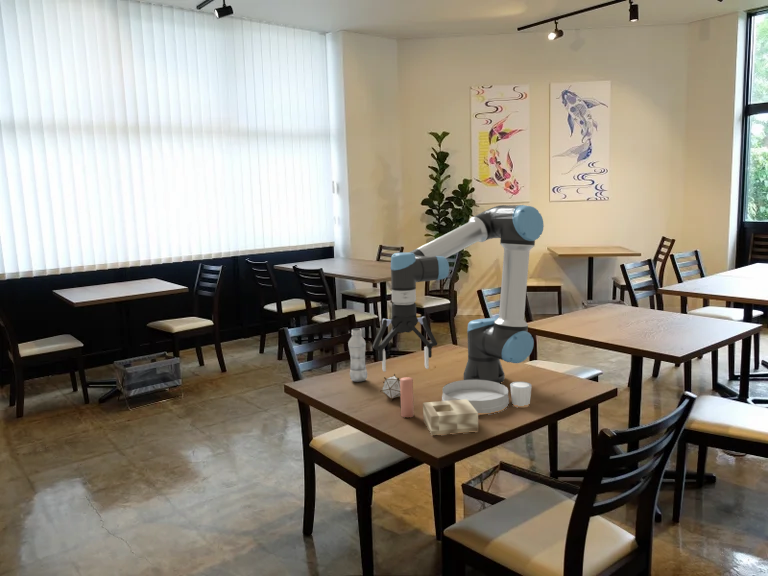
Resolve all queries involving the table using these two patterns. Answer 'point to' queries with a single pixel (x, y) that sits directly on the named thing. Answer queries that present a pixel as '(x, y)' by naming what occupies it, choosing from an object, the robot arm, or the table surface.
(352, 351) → the plastic bottle
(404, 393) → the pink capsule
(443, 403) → the birch block
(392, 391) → the game die
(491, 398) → the dish
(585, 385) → the table surface
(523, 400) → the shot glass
